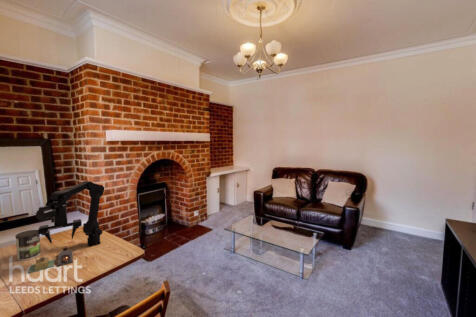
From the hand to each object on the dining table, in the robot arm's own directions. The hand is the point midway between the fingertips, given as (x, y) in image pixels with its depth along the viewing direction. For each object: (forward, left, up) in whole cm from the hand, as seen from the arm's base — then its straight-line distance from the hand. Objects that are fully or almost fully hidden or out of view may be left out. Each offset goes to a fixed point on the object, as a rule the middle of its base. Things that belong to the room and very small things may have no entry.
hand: (61, 240), depth 122 cm
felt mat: (+9, 0, -12) cm, 15 cm away
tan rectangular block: (+9, 0, -11) cm, 14 cm away
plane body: (-1, -2, -12) cm, 12 cm away
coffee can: (+16, -19, -12) cm, 28 cm away
